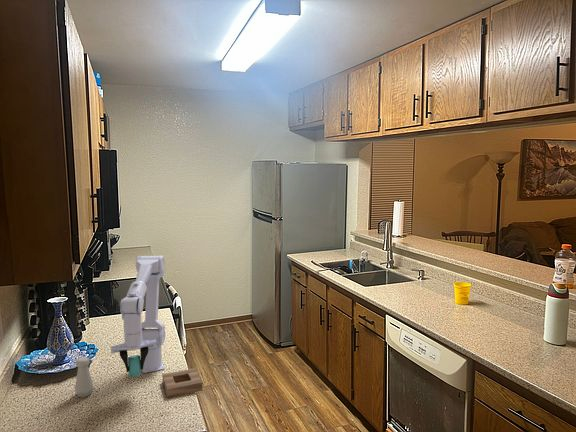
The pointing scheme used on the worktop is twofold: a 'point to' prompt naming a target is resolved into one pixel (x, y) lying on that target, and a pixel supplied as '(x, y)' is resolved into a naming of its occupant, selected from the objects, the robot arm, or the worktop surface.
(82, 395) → the salt shaker
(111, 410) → the worktop surface
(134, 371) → the teal pin
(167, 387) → the socket block
